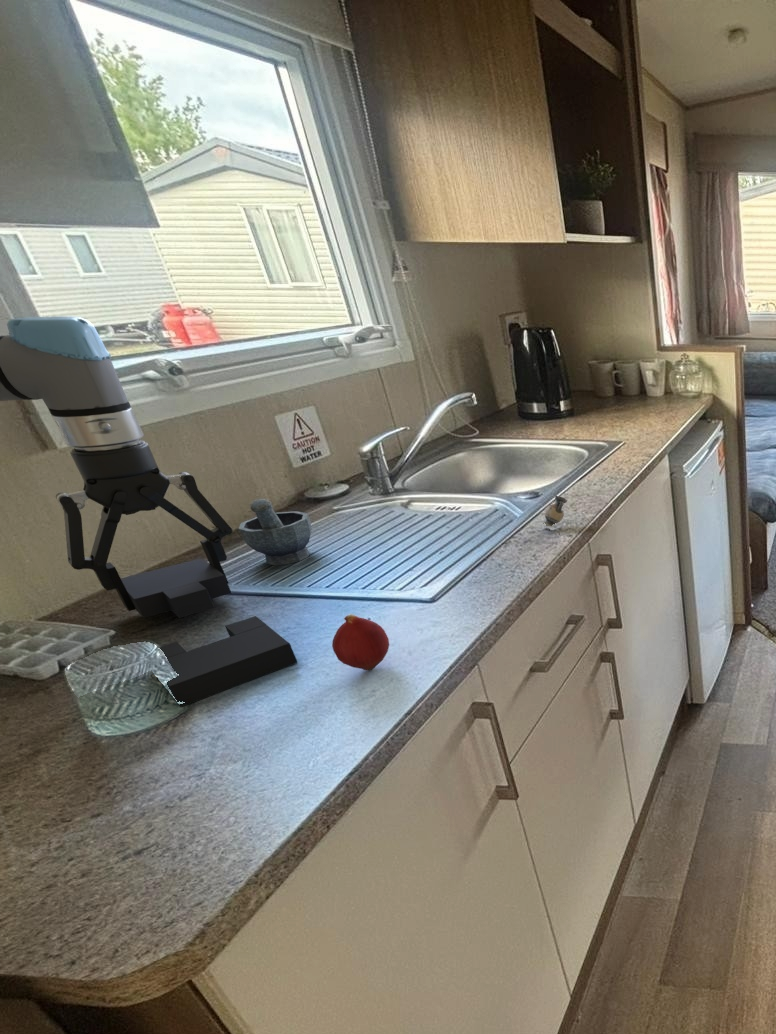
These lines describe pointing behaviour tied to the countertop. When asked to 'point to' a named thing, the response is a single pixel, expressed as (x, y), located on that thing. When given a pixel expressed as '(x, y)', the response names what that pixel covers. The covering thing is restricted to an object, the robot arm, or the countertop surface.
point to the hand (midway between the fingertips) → (178, 594)
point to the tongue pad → (176, 588)
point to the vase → (555, 511)
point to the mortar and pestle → (277, 533)
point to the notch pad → (227, 660)
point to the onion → (360, 643)
